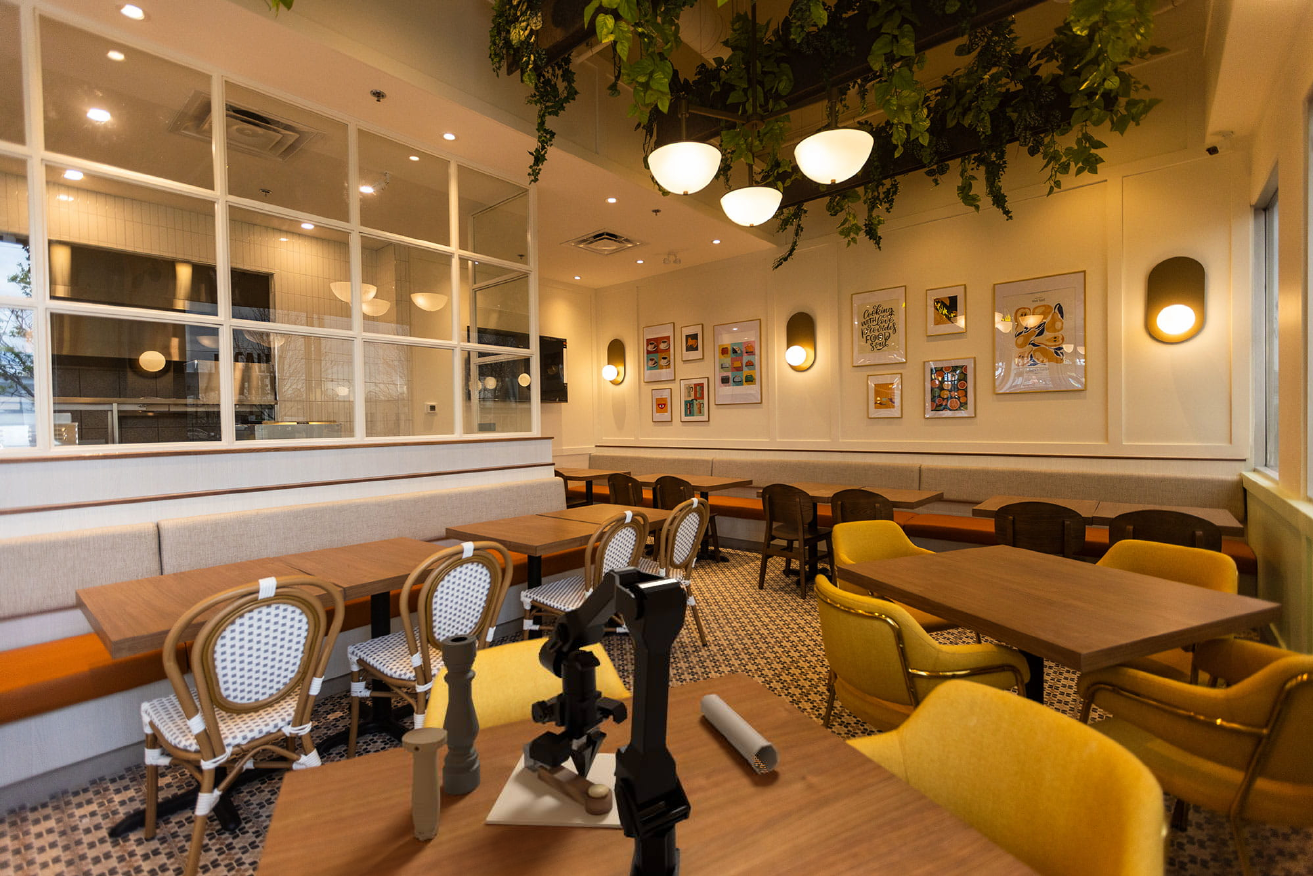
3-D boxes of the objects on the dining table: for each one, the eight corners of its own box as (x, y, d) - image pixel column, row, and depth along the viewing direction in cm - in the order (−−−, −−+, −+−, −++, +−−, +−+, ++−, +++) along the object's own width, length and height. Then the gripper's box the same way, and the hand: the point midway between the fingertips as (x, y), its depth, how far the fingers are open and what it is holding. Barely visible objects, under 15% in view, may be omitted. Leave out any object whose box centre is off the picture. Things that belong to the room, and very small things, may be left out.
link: (618, 805, 94) (618, 793, 94) (597, 819, 90) (597, 806, 90) (554, 769, 105) (554, 757, 105) (534, 780, 101) (534, 768, 101)
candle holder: (434, 789, 100) (432, 642, 100) (462, 771, 106) (459, 631, 106) (461, 799, 97) (458, 647, 97) (488, 779, 103) (485, 636, 103)
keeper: (568, 776, 102) (568, 753, 102) (549, 786, 99) (549, 762, 99) (540, 758, 108) (540, 736, 108) (521, 767, 105) (521, 745, 105)
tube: (692, 696, 126) (748, 753, 102) (713, 685, 127) (773, 738, 104) (700, 719, 126) (757, 780, 103) (721, 707, 128) (782, 765, 104)
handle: (439, 847, 86) (437, 744, 86) (397, 844, 86) (395, 742, 87) (454, 825, 90) (452, 728, 91) (415, 823, 91) (413, 726, 91)
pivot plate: (626, 827, 89) (626, 806, 89) (485, 823, 91) (485, 802, 91) (640, 756, 109) (640, 739, 109) (524, 754, 111) (524, 736, 111)
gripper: (581, 659, 111) (584, 740, 112) (503, 698, 96) (507, 792, 96) (627, 671, 105) (630, 757, 105) (552, 715, 90) (556, 816, 90)
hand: (582, 778), depth 99 cm, fingers closed
